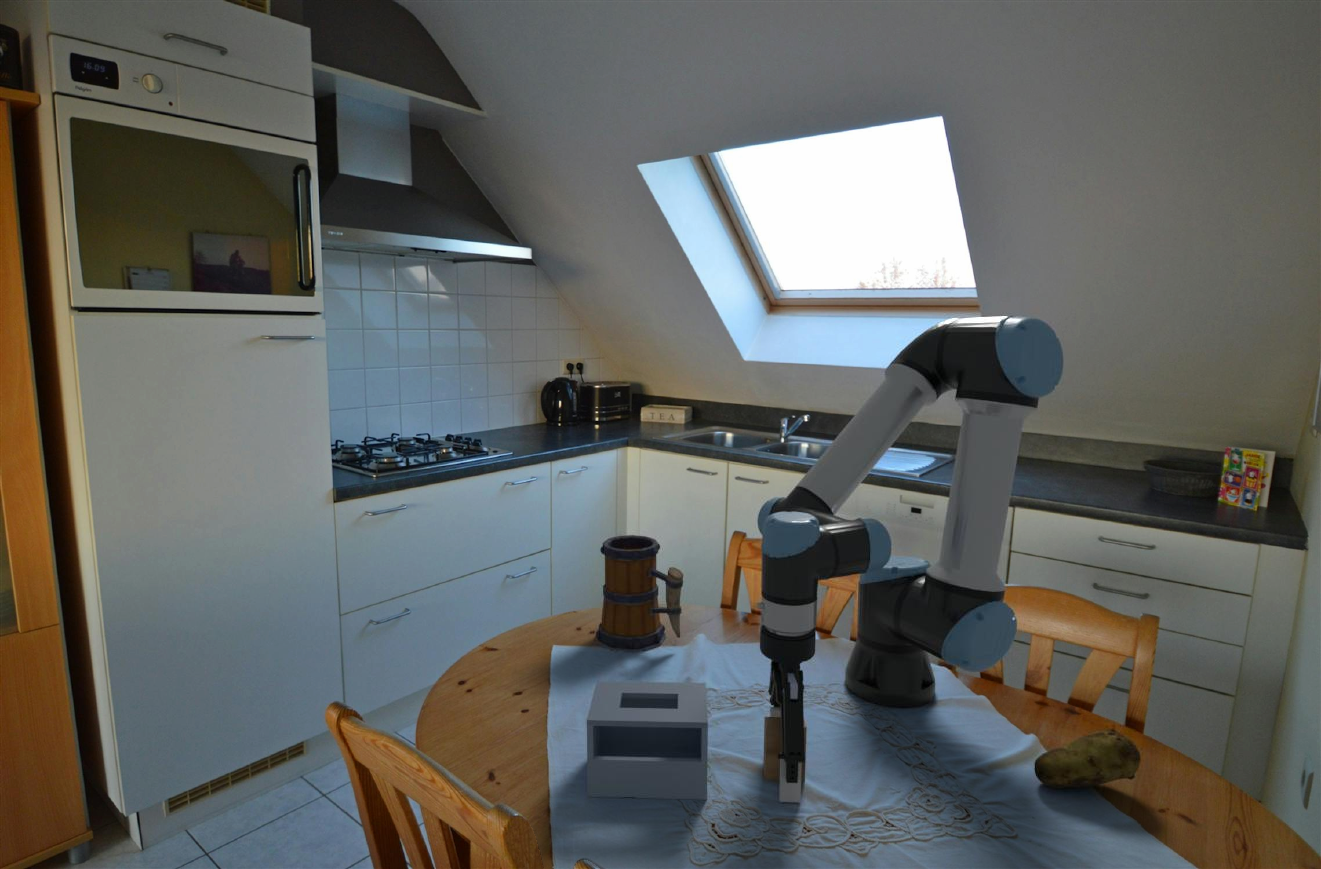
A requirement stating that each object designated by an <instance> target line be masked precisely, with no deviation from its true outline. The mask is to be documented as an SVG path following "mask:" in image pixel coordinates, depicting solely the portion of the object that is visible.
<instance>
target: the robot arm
mask: <svg viewBox="0 0 1321 869" xmlns="http://www.w3.org/2000/svg"><path fill="white" fill-rule="evenodd" d="M1063 352H1064V351H1063V347H1062V344H1061V341H1060V339H1059V338H1058V337H1057V335H1056V332H1055V330H1054V328H1052V327H1051V326H1050V325H1049V324H1048V323H1047V322H1045V321H1044V320H1042V319H1039V318H1037V317H1030V316H1019V315H1017V316H1014V315H1006V316H985V317H983V316H982V317H979V316H978V317H966V316H965V317H953V318H949V319H946V320H943V321H940V322H938V323H936V324H935V325H933V326H931V327H929V328H928V329H926V330H925V331H923V332H922V333H920V334H919V335H918V336H916V337H915V338H914V339H913V340H912V341H911V342H909V343H908V344H907V345H906V346H905V347H904V348H903V349H902V350H901V351H900V352H899V353H897V355H896V356H895V358H894V359H893V360H891V362H890V363H889V364H888V366H887V367H886V368H885V370H884V377H885V379H884V380H883V381H882V382H881V383H880V385H879V386H878V387H877V388H876V389H875V390H874V392H873V393H872V394H871V396H869V397H868V399H867V400H866V402H864V404H863V405H862V406H861V407H860V409H859V410H857V412H856V413H855V414H854V416H853V417H852V418H851V420H850V421H849V422H848V423H847V424H846V426H845V427H843V429H842V430H841V431H840V433H839V434H838V435H837V436H836V437H835V438H834V440H833V441H832V442H831V443H830V444H829V446H828V447H827V448H826V449H825V451H824V452H823V453H822V454H821V455H820V456H819V458H817V460H816V461H815V463H814V464H813V465H812V466H811V467H810V468H809V470H808V471H807V472H806V473H805V475H804V476H803V477H802V478H801V479H800V480H799V481H798V483H797V484H796V485H795V487H794V488H793V489H792V490H791V491H790V493H788V495H787V496H786V497H784V496H782V497H779V496H778V497H776V496H775V497H773V498H771V499H768V500H767V501H765V502H764V503H763V505H762V506H761V507H760V510H759V512H758V515H757V528H758V531H759V533H760V534H761V543H760V544H761V545H760V550H761V592H760V593H761V601H757V602H756V608H757V609H758V610H760V622H761V626H759V629H760V630H759V650H760V652H761V655H763V656H764V657H766V658H767V659H769V660H771V661H770V673H769V685H768V689H767V690H768V695H769V696H770V698H769V703H770V707H769V717H781V733H782V753H780V754H777V759H780V781H779V793H778V795H779V796H778V797H779V798H778V799H779V802H780V803H801V802H802V801H801V800H802V796H801V795H802V794H801V793H802V781H801V769H802V763H804V762H805V759H806V760H807V758H805V749H804V720H805V717H804V716H805V715H804V714H805V713H804V690H805V684H804V672H803V669H801V664H802V663H804V662H807V661H809V660H811V659H812V658H813V657H815V654H816V635H817V634H816V633H817V632H816V629H815V627H816V626H817V617H818V615H817V614H818V613H817V612H818V586H819V581H824V580H825V581H826V580H830V579H836V578H840V577H847V576H854V575H859V579H858V582H857V584H858V589H857V590H858V592H857V596H858V597H857V632H856V634H857V635H856V642H855V643H854V647H853V648H852V652H851V654H850V657H849V658H848V662H847V664H846V667H845V672H844V673H845V674H844V675H845V676H844V678H845V679H844V683H845V685H846V687H847V688H848V690H850V692H852V693H853V694H854V695H856V696H858V697H859V698H861V699H863V700H866V701H869V702H871V703H875V704H878V705H883V706H888V707H896V708H910V707H917V706H922V705H925V704H927V703H929V702H930V701H932V700H933V699H934V697H935V694H936V677H935V673H934V671H933V668H932V664H931V660H930V657H929V654H930V655H932V656H934V657H936V658H938V659H940V660H941V661H943V662H944V663H945V664H947V665H949V666H953V667H957V668H959V669H962V670H963V671H966V672H970V673H979V672H984V671H987V670H989V669H991V668H992V667H994V666H995V665H997V664H998V663H999V662H1000V660H1001V659H1003V658H1004V657H1005V656H1006V655H1007V654H1008V652H1009V650H1010V649H1011V647H1012V646H1013V642H1014V641H1015V638H1016V634H1017V630H1018V629H1017V628H1018V621H1017V620H1018V619H1017V617H1016V616H1015V615H1016V613H1015V611H1014V610H1013V609H1012V607H1011V606H1009V604H1008V603H1006V602H1004V599H1005V593H1006V585H1005V584H1004V582H1003V580H1001V578H1000V577H999V574H998V571H999V565H1000V557H1001V552H1002V546H1003V540H1004V536H1005V531H1006V530H1005V529H1006V525H1007V518H1008V513H1009V506H1010V502H1011V497H1012V496H1011V495H1012V490H1013V483H1014V479H1015V473H1016V467H1017V463H1018V461H1017V460H1018V455H1019V449H1020V443H1021V439H1022V432H1023V427H1024V421H1025V420H1026V419H1027V418H1028V417H1029V416H1031V415H1032V414H1034V413H1035V412H1037V411H1038V406H1039V400H1040V399H1041V398H1044V397H1046V396H1048V395H1049V394H1051V393H1052V392H1053V391H1055V389H1056V386H1058V385H1059V383H1060V381H1061V379H1062V377H1063V376H1062V374H1063V373H1064V372H1063V370H1064V353H1063ZM953 390H956V392H955V397H954V398H955V399H954V401H955V402H956V403H957V405H958V406H959V407H960V408H961V410H962V419H961V423H960V424H961V425H960V430H959V436H958V442H957V448H956V452H955V453H956V454H955V460H954V467H953V471H952V472H953V473H952V477H951V478H952V479H951V484H950V490H949V495H948V501H947V506H946V512H945V513H946V514H945V519H944V525H943V530H942V535H941V536H942V537H941V543H940V547H939V549H940V550H939V555H938V560H937V561H936V563H934V564H932V565H931V562H930V561H928V560H926V559H924V558H920V557H916V556H908V555H906V556H905V555H904V556H903V555H892V545H893V544H892V539H891V535H890V533H889V531H888V529H887V527H885V525H884V524H883V523H882V522H880V521H879V520H878V519H876V518H875V519H874V518H862V517H857V518H855V519H846V518H843V517H839V516H837V515H836V514H837V513H838V512H839V510H840V509H841V508H842V507H843V505H844V504H845V503H846V502H847V500H848V499H849V498H850V497H851V496H852V494H853V493H854V492H855V491H856V490H857V488H858V487H859V486H860V485H861V483H862V482H863V480H865V478H866V477H867V476H868V475H869V474H870V472H871V471H872V470H873V469H874V467H875V466H876V465H877V464H878V463H879V461H880V460H881V459H882V458H883V456H884V455H885V454H886V453H887V452H888V450H889V449H891V446H893V444H894V442H895V441H897V439H898V438H899V437H900V435H901V434H902V433H903V432H904V431H905V429H906V428H907V427H908V426H909V424H911V422H912V421H913V420H914V418H915V417H916V416H917V415H918V413H919V412H920V411H921V410H922V409H923V407H931V406H933V405H935V404H934V403H935V402H936V401H937V400H938V399H939V398H940V397H941V395H943V394H945V393H947V392H949V391H953Z"/></svg>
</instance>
